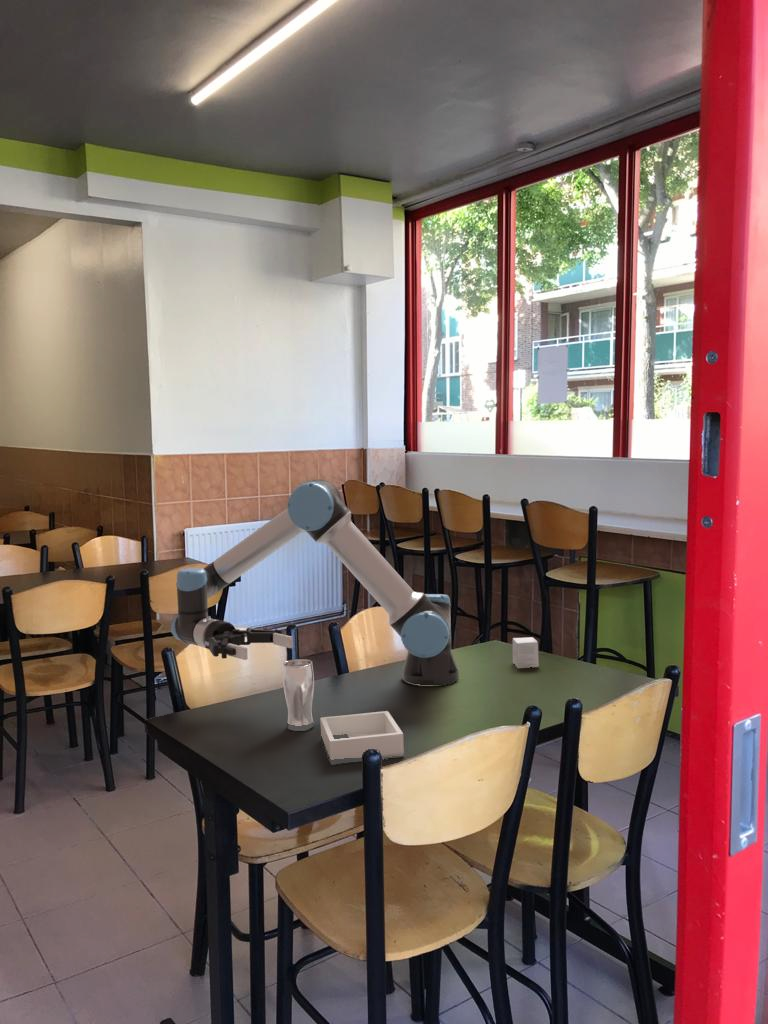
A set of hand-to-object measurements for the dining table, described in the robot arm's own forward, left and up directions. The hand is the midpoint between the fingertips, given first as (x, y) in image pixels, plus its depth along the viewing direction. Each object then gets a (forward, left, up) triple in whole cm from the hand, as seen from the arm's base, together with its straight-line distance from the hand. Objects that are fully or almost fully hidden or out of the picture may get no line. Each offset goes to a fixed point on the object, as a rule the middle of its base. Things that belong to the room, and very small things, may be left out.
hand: (269, 648), depth 198 cm
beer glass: (+8, +6, -17) cm, 20 cm away
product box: (-25, +73, -17) cm, 79 cm away
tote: (+25, +17, -17) cm, 35 cm away
